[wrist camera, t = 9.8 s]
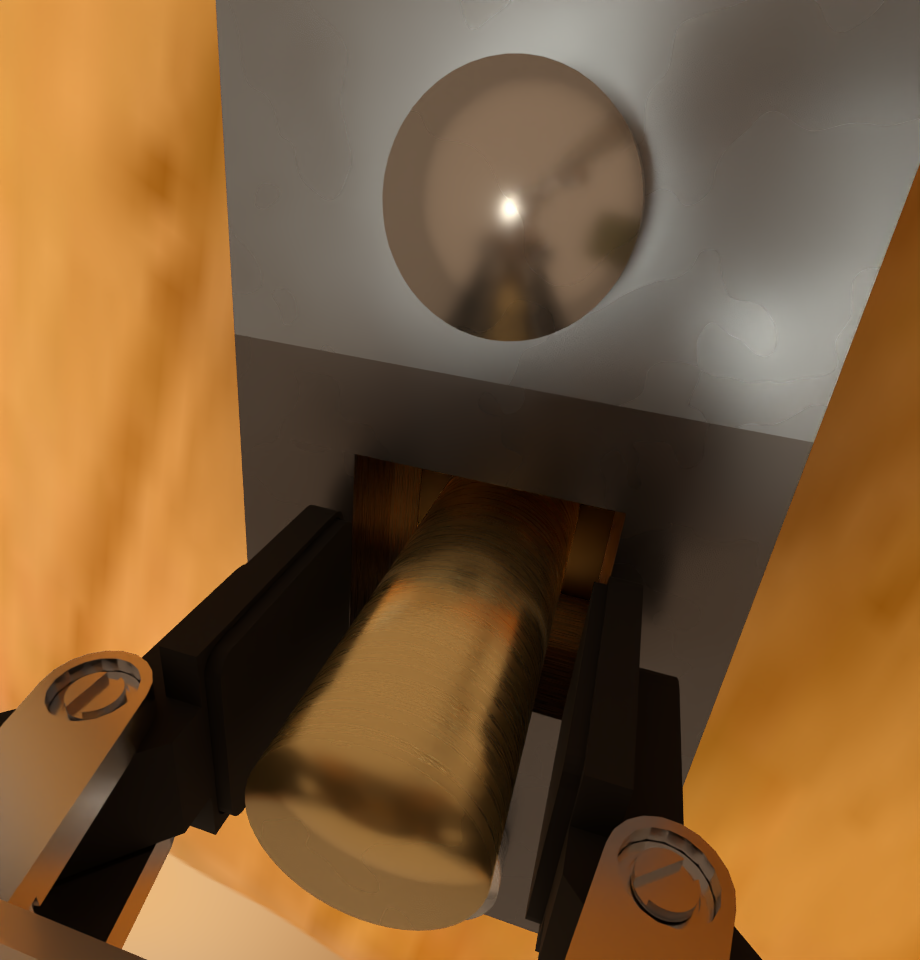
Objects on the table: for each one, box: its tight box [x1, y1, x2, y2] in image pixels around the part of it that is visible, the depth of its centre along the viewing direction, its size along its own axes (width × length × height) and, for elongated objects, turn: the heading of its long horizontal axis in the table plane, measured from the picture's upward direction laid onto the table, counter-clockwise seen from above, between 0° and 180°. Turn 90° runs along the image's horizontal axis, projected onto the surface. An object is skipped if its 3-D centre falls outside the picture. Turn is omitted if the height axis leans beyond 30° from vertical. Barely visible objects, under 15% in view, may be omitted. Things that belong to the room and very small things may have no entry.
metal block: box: [216, 0, 920, 933], centre depth 13 cm, size 18×9×5 cm, turn 174°
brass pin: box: [245, 476, 581, 931], centre depth 11 cm, size 3×3×9 cm
